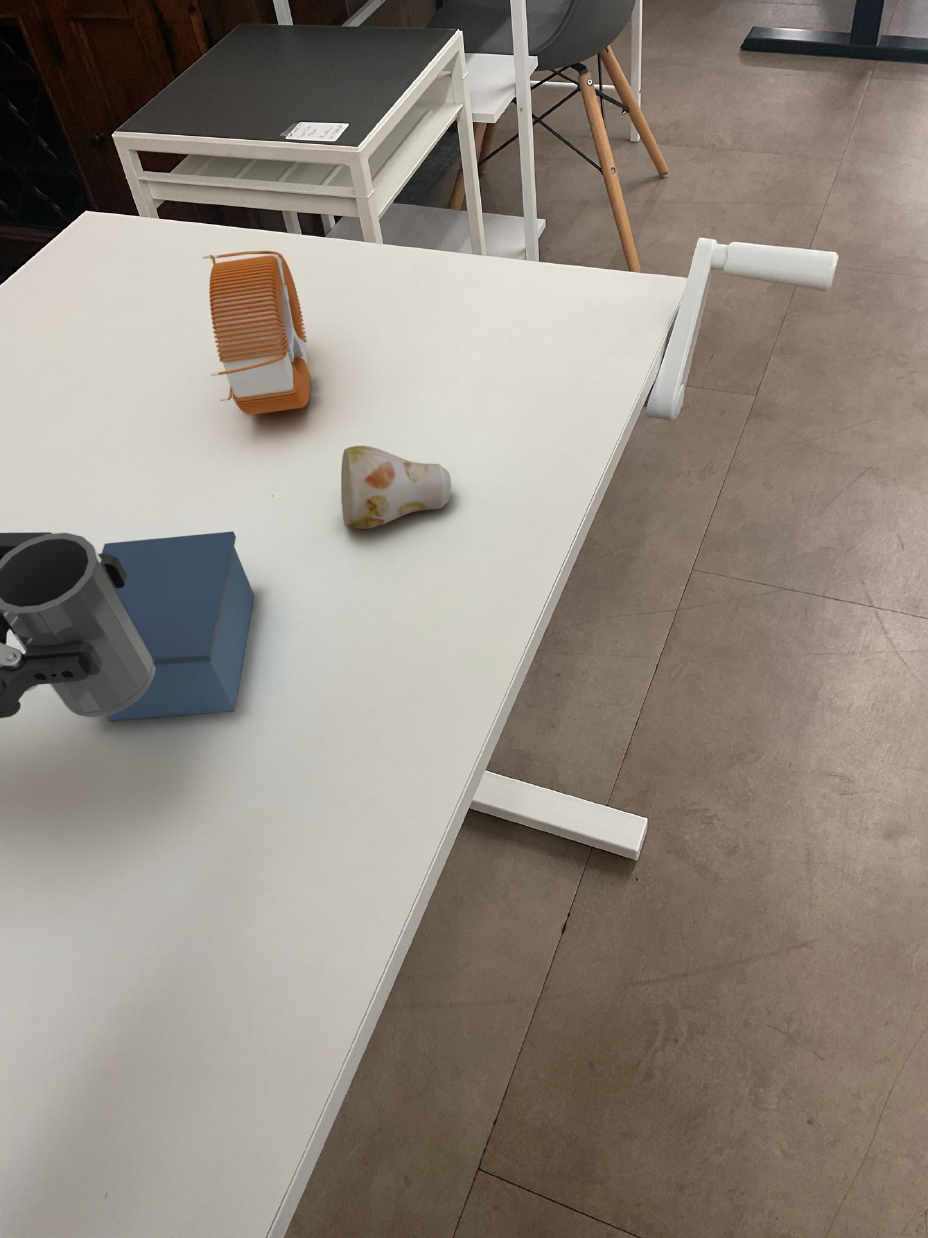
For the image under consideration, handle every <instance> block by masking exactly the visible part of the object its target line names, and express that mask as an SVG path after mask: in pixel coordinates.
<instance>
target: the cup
mask: <svg viewBox="0 0 928 1238" xmlns="http://www.w3.org/2000/svg"><path fill="white" fill-rule="evenodd" d="M98 554H99V553H98V551H97V549H96V547H95V545H93V543H91V541H88V539H86V538H85V537H84V536H81V535H79V534H73V533H69V532H55V533H52V534H46V535H43V536H40V537H37V538H34V539H31V540H28V541H26V542H24V543H22V544H21V545H19V546H18V547H16V548H14V549H13V550H11V551H10V552H8V553H7V554H6V555H5V556H4V557H3V558H2V559H1V560H0V615H1V617H2V618H3V620H4V621H5V623H6V624H7V625H8V627H9V628H10V629H9V631H11V633H12V634H13V635H14V637H15V638H16V640H17V641H18V642H19V645H20V646H21V647H22V649H23V650H24V651H25V652H26V649H27V647H29V646H47V645H58V644H65V643H77V642H86V643H89V644H91V645H92V646H93V647H94V649H95V650H96V652H97V653H98V655H99V657H100V658H101V660H102V665H101V668H100V672H99V674H97V675H90V676H88V678H86V679H84V680H81V681H78V682H65V683H62V682H61V683H53V684H48V685H49V687H50V688H51V690H52V691H53V693H54V694H55V696H56V697H57V698H58V699H59V700H60V701H61V703H62V704H63V706H64V707H65V708H66V709H68V711H69V712H71V713H73V714H75V715H78V716H81V717H85V718H101V717H106V716H107V715H111V714H114V713H117V712H119V711H121V710H123V709H125V708H127V707H129V706H130V705H132V704H133V703H134V702H136V701H137V700H138V699H139V698H140V697H141V696H142V695H143V694H144V693H145V692H146V690H147V689H148V688H149V686H150V684H151V682H152V680H153V678H154V675H155V659H154V656H153V654H152V652H151V650H150V647H149V645H148V644H147V642H146V640H145V638H144V636H143V634H142V633H141V631H140V629H139V627H138V625H137V624H136V622H135V620H134V618H133V616H132V615H131V613H130V611H129V609H128V607H127V605H126V604H125V602H124V600H123V598H122V596H121V595H120V593H119V591H118V589H117V587H116V586H115V584H114V582H113V580H112V578H111V576H110V575H109V573H108V571H107V569H106V567H105V566H104V564H103V562H102V560H101V558H100V557H99V555H98Z"/></svg>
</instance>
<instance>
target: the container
mask: <svg viewBox="0 0 928 1238" xmlns="http://www.w3.org/2000/svg"><path fill="white" fill-rule="evenodd" d="M236 539H237V537H236V534H235V532H234V531H222V532H215V533H214V532H212V533H211V532H210V533H203V534H202V533H201V534H192V535H190V534H189V535H179V536H170V537H161V538H160V537H158V538H149V539H148V538H147V539H139V540H138V539H137V540H129V541H128V540H126V541H118V542H117V541H116V542H105V543H104V545H103V548H102V550H101V553H105V554H110V555H111V556H113V557H116V558H117V559H118V560H119V561H120V563H121V565H122V567H123V569H124V570H125V572H126V574H127V578H126V582H125V585H124V587H122V588H117V589H118V591H119V593H120V595H121V596H122V598H123V600H124V602H125V604H126V605H127V607H128V609H129V611H130V613H131V615H132V616H133V618H134V620H135V622H136V624H137V625H138V627H139V629H140V631H141V633H142V634H143V636H144V638H145V640H146V642H147V644H148V645H149V647H150V650H151V652H152V654H153V656H154V659H155V675H154V678H153V680H152V682H151V684H150V686H149V688H148V689H147V690H146V692H145V693H144V694H143V695H142V696H141V697H140V698H139V699H138V700H137V701H136V702H134V703H133V704H132V705H130V706H129V707H127V708H125V709H123V710H121V711H119V712H117V713H114V714H111V715H107V716H105V718H106V719H107V721H109V722H110V721H111V722H112V721H123V720H125V721H126V720H137V719H149V718H160V717H161V718H162V717H173V716H186V715H199V714H211V713H226V712H234V711H235V710H236V703H237V698H238V693H239V686H240V680H241V674H242V669H243V663H244V658H245V657H244V656H245V651H246V645H247V639H248V633H249V627H250V621H251V615H252V611H253V610H252V609H253V603H254V598H255V594H254V591H253V589H252V586H251V584H250V581H249V579H248V576H247V574H246V571H245V569H244V567H243V564H242V562H241V560H240V557H239V555H238V552H237V550H236V548H235V543H236Z"/></svg>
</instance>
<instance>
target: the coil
mask: <svg viewBox="0 0 928 1238" xmlns="http://www.w3.org/2000/svg"><path fill="white" fill-rule="evenodd" d="M245 255H260V256H253V257H247V258H240V259H234V260H233V259H232V260H226V261H221V262H217V261H216V259H221V258H230V257H238V256H245ZM202 259H210V260H212V264H213V265H212V266H211V267H212V268H211V270H210V276H209V292H208V294H209V306H210V308H209V309H210V315H211V324H212V325H213V326H212V329H213V334H214V336H213V337H214V339H216V340H215V341H214V343H216V345H215V347H216V348H217V349H216V352H217V353H218V354H217V356H218V358H219V362H220V363H222V365H223V368H224V371H217V372H211V373H210V376H211V377H217V376H221V375H226V378H227V381H228V384H229V396H228V397H222V398H220V399H219V400H220V402H227V401H230V400H233V401H234V403H235V404H236V406H237V407H238V409H239V410H240V411H241V412H243V414H245V415H250V416H252V415H253V416H254V415H259V414H265V413H267V414H268V413H274V412H281V411H288V410H295V409H303V408H304V407H306V406H307V404H308V403H309V400H310V397H311V374H310V371H309V368H308V358H307V350H306V343H307V342H308V339H306V338H307V335H305V334H306V331H305V329H306V328H305V327H304V325H305V323H304V319H303V314H302V310H301V309H302V308H301V303H300V299H299V295H298V291H297V288H296V284H295V281H294V277H293V275H292V272H291V270H290V267H289V265H288V262H287V260H286V259H285V257H284V255H283V254H281V253H280V252H278V251H272V250H252V251H251V250H249V251H248V250H247V251H241V252H232V253H225V254H218V255H212V254H207V255H202Z"/></svg>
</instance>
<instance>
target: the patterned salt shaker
mask: <svg viewBox="0 0 928 1238" xmlns="http://www.w3.org/2000/svg"><path fill="white" fill-rule="evenodd" d="M341 459H342V460H341V473H340V495H341V497H340V498H341V510H342V512H341V513H342V519H343V524H344V526H345V527H347V528H348V527H349V528H353V529H356V530H357V529H358V530H363V529H364V530H365V529H373V528H376V527H379V526H382V525H385V524H387V523H389V522H392V521H394V520H397V519H398V518H401V517H403V516H406V515H408V514H410V513H415V512H418V511H428V510H429V511H430V510H440V509H442V508H444V506H445V505H447V503H448V502H449V500H450V498H451V489H452V481H451V476H450V475H451V474H450V473H449V471H448V470H447V469H446V468H445V467H443V466H442V465H441V464H439V463H423V462H422V463H421V462H415V461H411V460H407V459H404V458H402V457H401V456H397V455H395V454H392V453H390V452H387V451H386V450H382V449H380V448H376V447H374V446H368V445H355V446H349V447H347V448H344V450H343V452H342V458H341Z"/></svg>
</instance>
